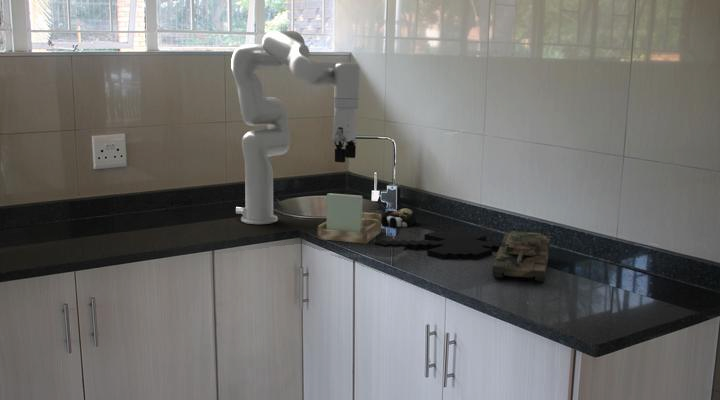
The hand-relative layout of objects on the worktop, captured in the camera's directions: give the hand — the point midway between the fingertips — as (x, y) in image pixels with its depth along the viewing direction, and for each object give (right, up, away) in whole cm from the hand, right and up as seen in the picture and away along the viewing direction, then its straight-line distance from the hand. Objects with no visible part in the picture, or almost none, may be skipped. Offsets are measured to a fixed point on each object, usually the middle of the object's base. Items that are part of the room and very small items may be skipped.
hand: (345, 159), depth 250 cm
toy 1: (+18, -22, +28) cm, 40 cm away
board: (0, -25, +5) cm, 25 cm away
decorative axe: (+31, -28, +1) cm, 41 cm away
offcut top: (+2, -21, +9) cm, 23 cm away
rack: (+1, -25, +10) cm, 27 cm away
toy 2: (+49, -33, -25) cm, 64 cm away
